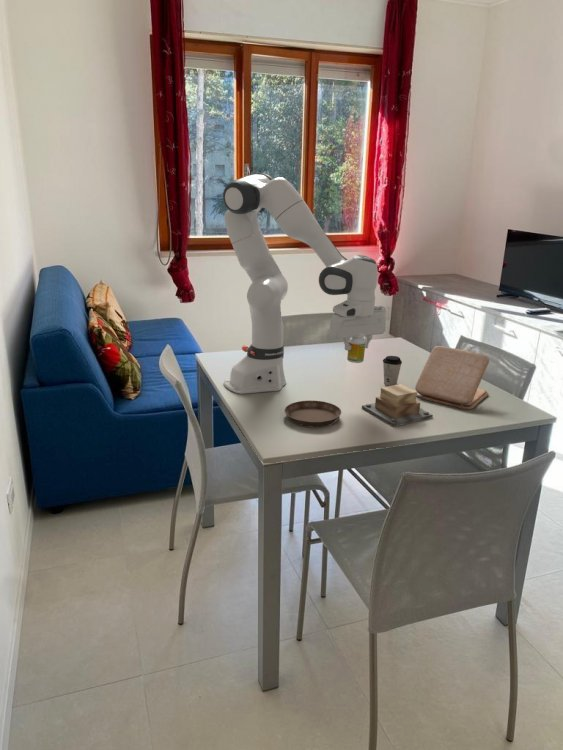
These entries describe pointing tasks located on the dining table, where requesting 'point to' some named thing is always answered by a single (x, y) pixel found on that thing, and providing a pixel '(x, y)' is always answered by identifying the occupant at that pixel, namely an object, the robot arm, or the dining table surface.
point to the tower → (397, 406)
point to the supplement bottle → (356, 349)
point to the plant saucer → (312, 413)
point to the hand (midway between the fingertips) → (356, 348)
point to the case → (453, 377)
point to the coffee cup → (391, 369)
